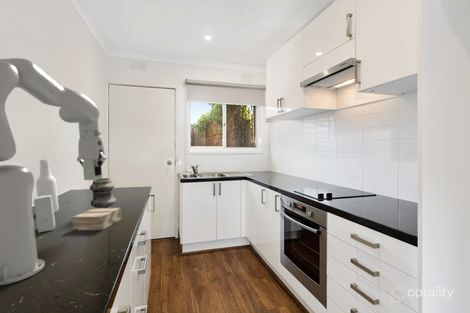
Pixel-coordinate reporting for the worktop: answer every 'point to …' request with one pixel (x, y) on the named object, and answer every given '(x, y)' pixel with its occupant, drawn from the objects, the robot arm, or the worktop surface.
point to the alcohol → (47, 183)
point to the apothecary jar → (102, 193)
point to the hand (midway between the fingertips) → (92, 174)
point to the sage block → (90, 170)
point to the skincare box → (44, 213)
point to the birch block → (96, 219)
